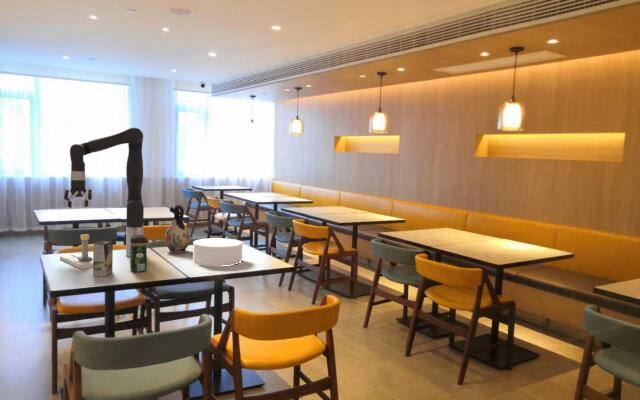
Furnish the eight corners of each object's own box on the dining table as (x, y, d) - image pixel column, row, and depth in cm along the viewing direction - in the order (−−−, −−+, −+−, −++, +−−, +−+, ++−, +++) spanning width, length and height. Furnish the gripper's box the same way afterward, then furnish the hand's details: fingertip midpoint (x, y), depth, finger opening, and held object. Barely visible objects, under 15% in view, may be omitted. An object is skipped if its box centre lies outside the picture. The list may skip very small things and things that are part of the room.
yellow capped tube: (77, 259, 252) (77, 234, 251) (88, 258, 256) (88, 233, 255) (81, 261, 249) (81, 235, 248) (91, 259, 253) (92, 234, 252)
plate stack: (249, 265, 270) (250, 245, 269) (201, 269, 255) (201, 248, 254) (231, 255, 294) (232, 237, 293) (186, 258, 279) (187, 239, 278)
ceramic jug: (159, 251, 295) (160, 203, 293) (180, 248, 307) (181, 202, 304) (174, 255, 284) (175, 206, 282) (196, 252, 296) (197, 205, 293)
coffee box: (106, 276, 230) (106, 244, 229) (92, 276, 230) (92, 243, 229) (112, 272, 240) (113, 240, 238) (99, 271, 239) (99, 240, 238)
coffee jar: (129, 268, 248) (129, 233, 246) (145, 267, 252) (145, 233, 250) (130, 273, 239) (131, 236, 238) (147, 272, 243) (147, 236, 241)
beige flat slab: (60, 259, 262) (60, 255, 262) (80, 257, 270) (80, 253, 270) (80, 268, 243) (80, 264, 243) (102, 266, 251) (102, 261, 251)
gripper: (67, 179, 261) (67, 208, 263) (93, 179, 272) (93, 207, 273) (62, 178, 266) (62, 207, 268) (88, 178, 277) (88, 206, 278)
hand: (78, 207), depth 271 cm, fingers open, 8 cm apart
